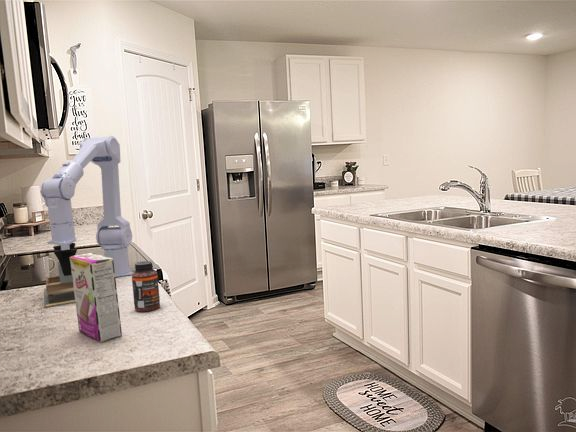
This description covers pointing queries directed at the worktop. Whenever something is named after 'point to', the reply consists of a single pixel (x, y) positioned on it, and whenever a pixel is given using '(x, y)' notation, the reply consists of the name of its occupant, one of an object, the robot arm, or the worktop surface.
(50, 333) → the worktop surface
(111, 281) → the candy bar box
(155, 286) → the supplement bottle
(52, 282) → the shallow wooden tray
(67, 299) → the plate
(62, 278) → the block
